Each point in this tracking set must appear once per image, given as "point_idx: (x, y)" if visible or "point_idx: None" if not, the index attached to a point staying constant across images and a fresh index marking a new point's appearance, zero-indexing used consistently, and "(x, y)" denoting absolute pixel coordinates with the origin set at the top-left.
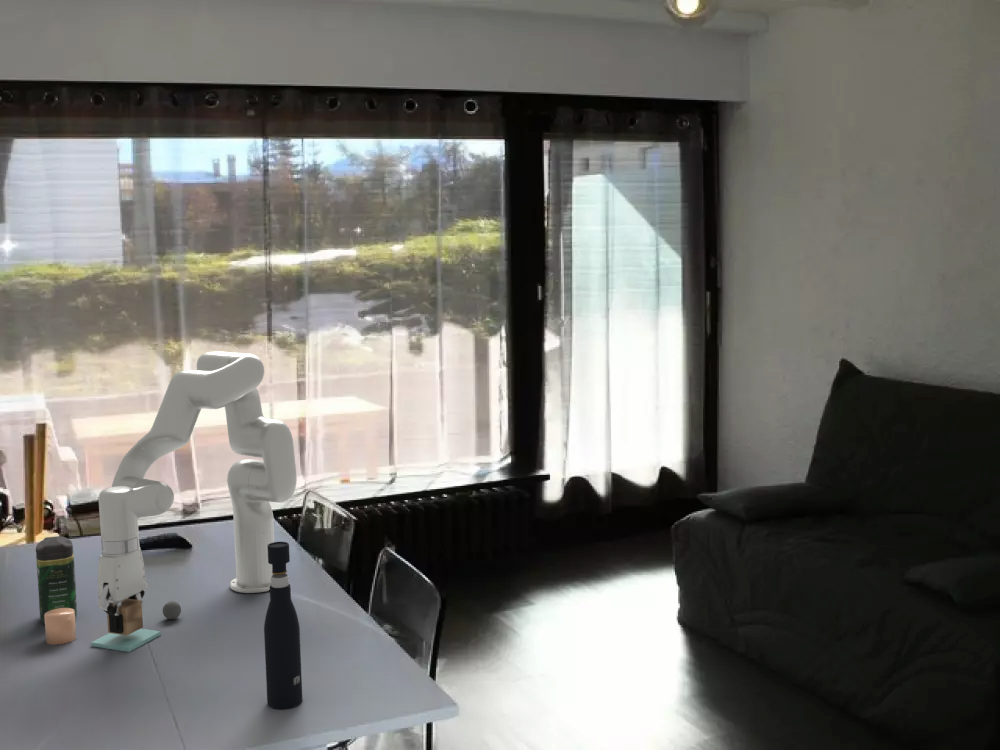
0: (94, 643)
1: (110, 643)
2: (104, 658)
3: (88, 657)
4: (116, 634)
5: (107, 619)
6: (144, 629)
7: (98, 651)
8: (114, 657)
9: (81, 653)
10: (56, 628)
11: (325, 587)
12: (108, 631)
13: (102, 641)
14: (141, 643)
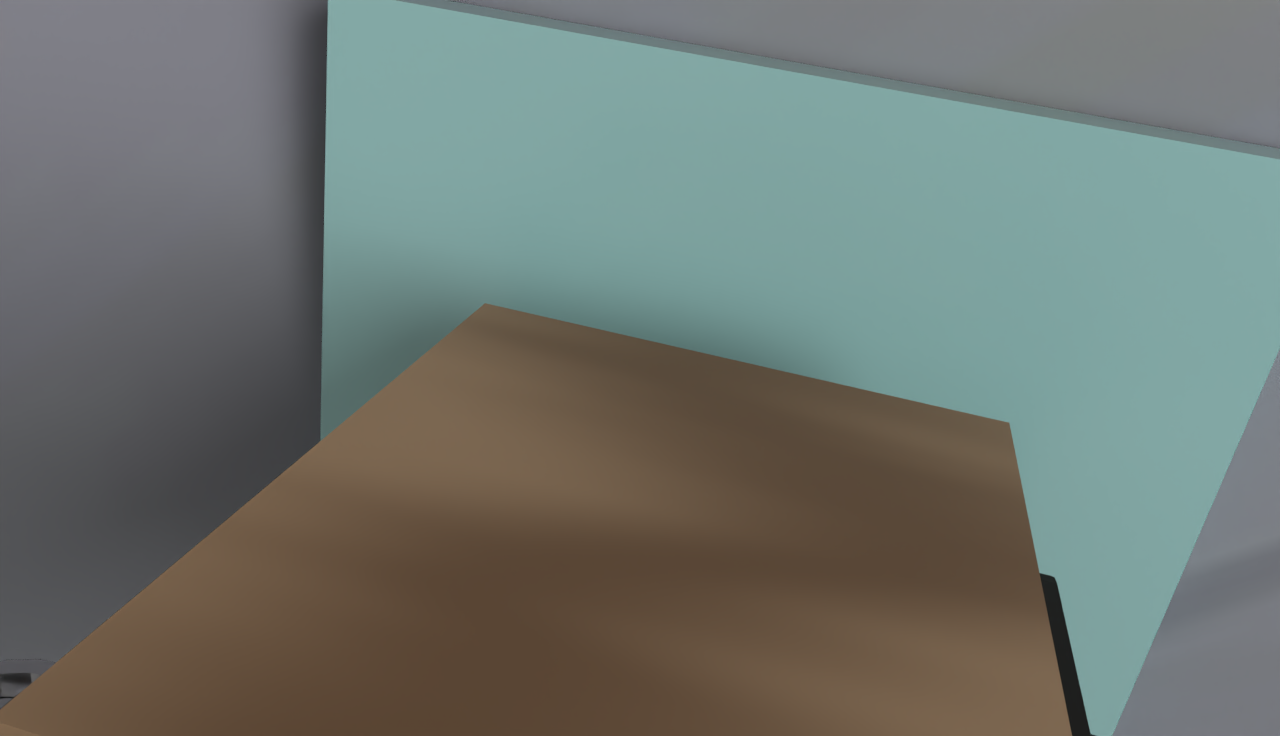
0: (328, 79)
1: (387, 383)
2: (75, 462)
3: (11, 224)
4: (795, 283)
5: (336, 432)
6: (1111, 684)
7: (227, 252)
8: (147, 571)
9: (73, 12)
10: None
11: None
12: (474, 320)
13: (427, 194)
14: None
